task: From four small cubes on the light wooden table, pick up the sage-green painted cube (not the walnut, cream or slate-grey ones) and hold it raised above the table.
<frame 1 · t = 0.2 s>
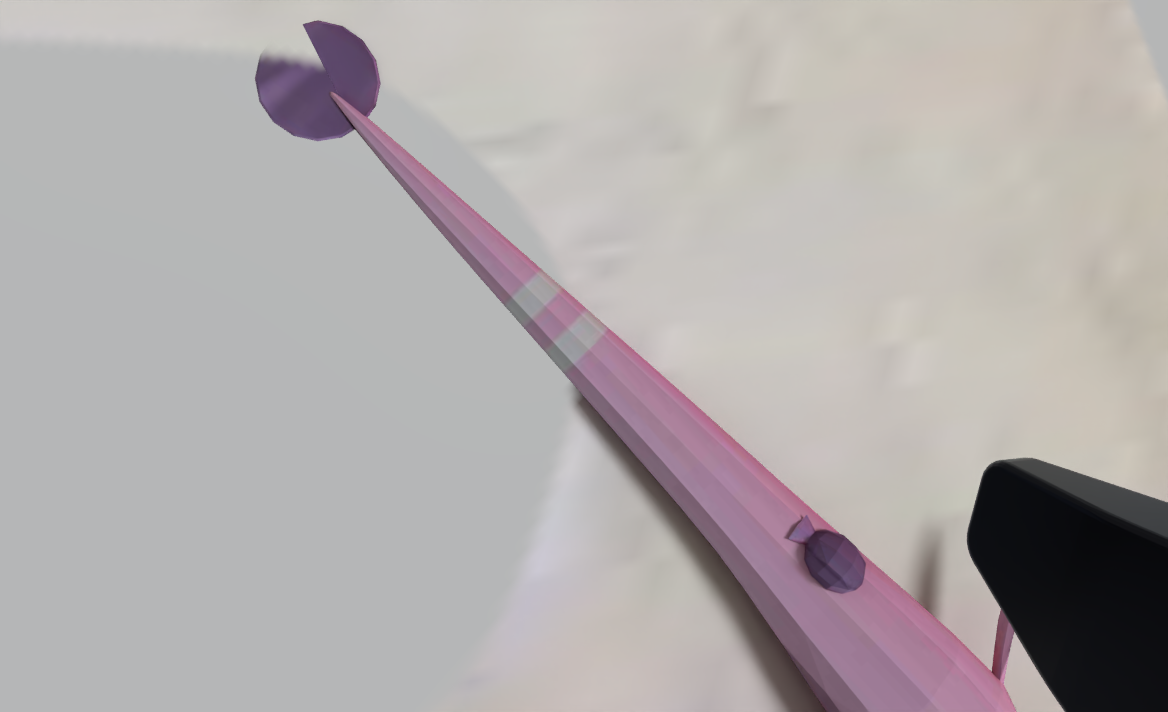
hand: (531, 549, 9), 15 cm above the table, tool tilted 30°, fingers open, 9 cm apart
toy: (679, 477, 25), on the table
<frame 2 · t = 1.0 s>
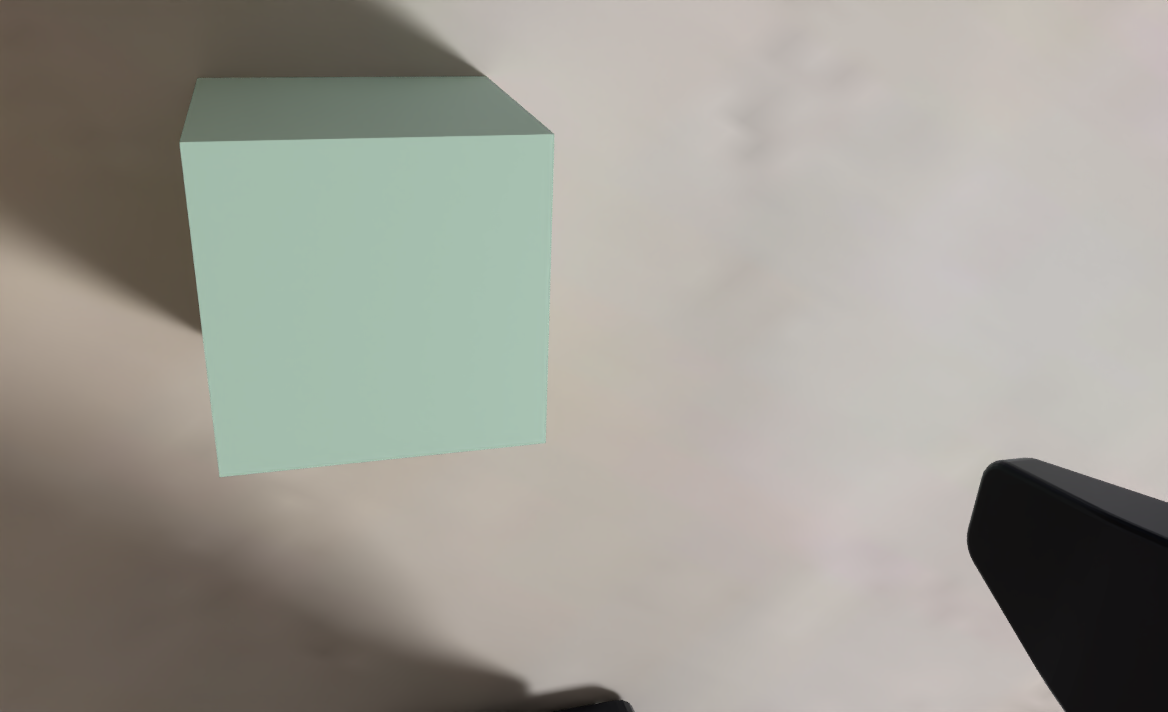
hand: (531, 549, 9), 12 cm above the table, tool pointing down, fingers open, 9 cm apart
sage block: (354, 212, 19), on the table
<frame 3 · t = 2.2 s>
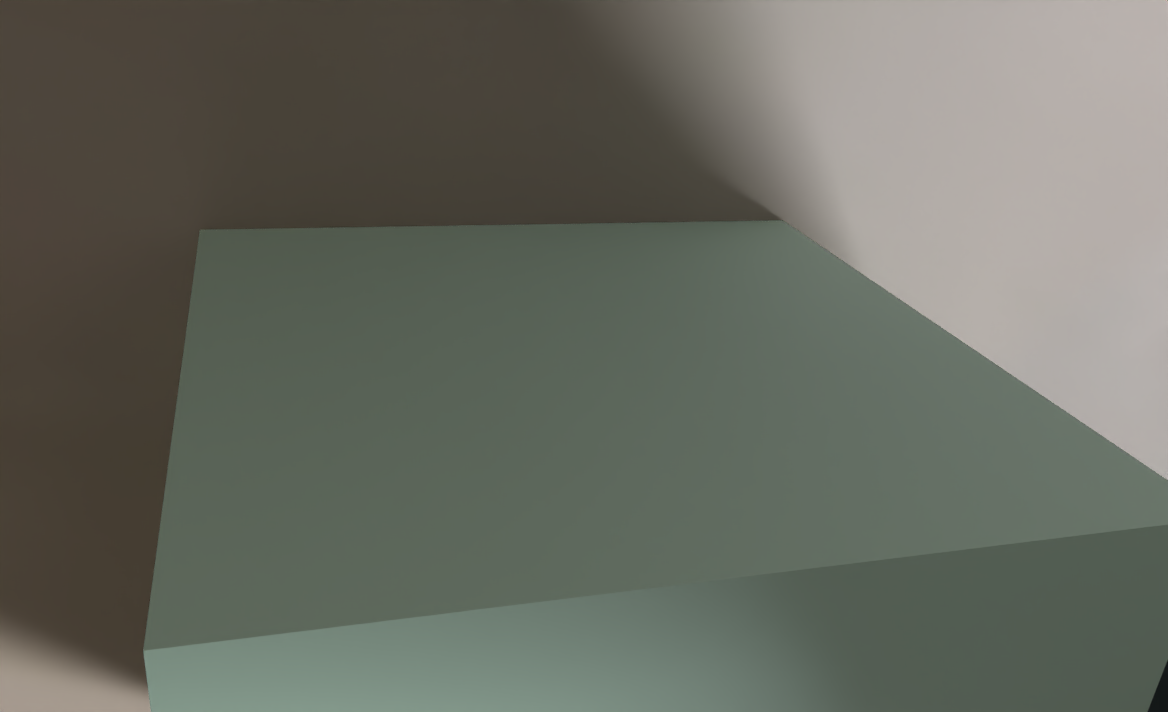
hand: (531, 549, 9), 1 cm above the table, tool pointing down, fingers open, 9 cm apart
sage block: (501, 475, 10), on the table
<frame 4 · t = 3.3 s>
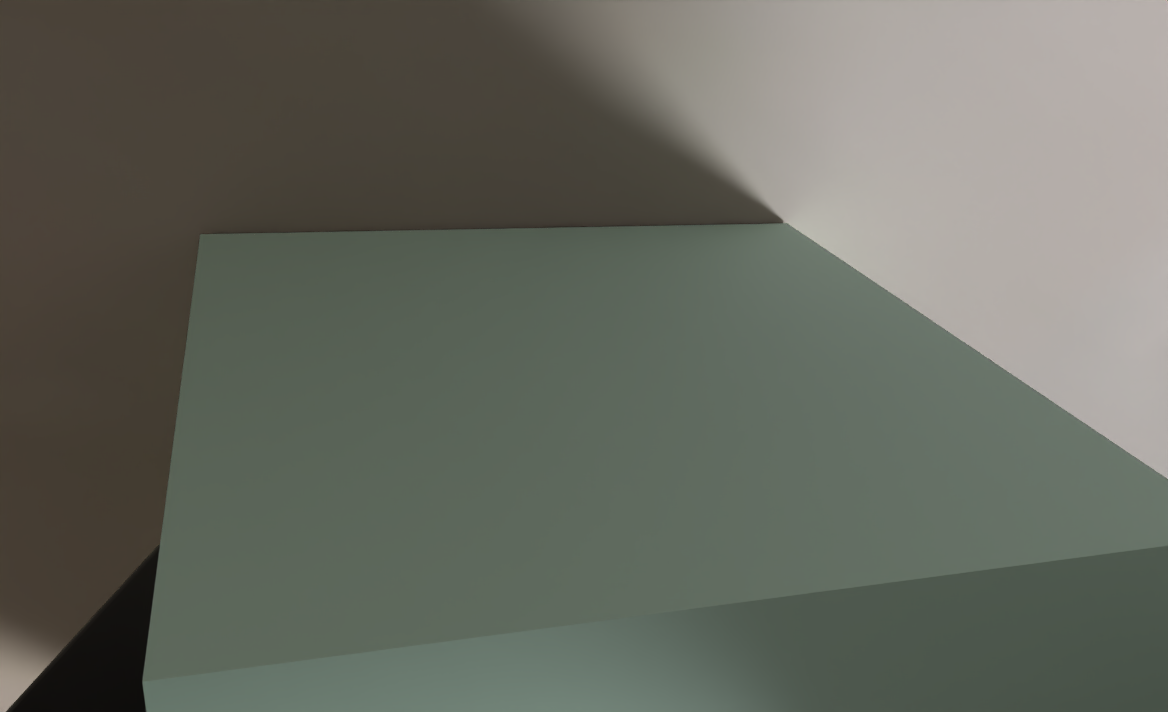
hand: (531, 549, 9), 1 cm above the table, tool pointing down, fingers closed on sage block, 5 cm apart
sage block: (505, 484, 10), on the table, touching gripper
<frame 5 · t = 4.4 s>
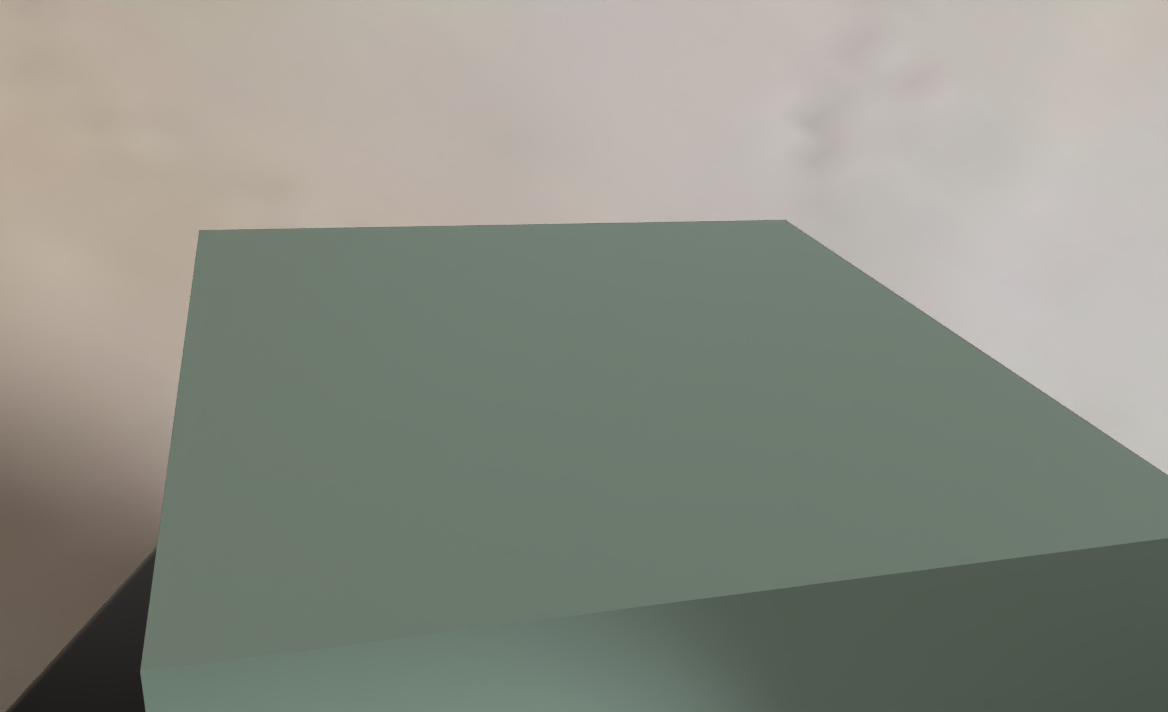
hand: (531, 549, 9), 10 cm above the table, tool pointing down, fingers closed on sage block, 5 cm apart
sage block: (504, 480, 10), point 9 cm above the table, touching gripper
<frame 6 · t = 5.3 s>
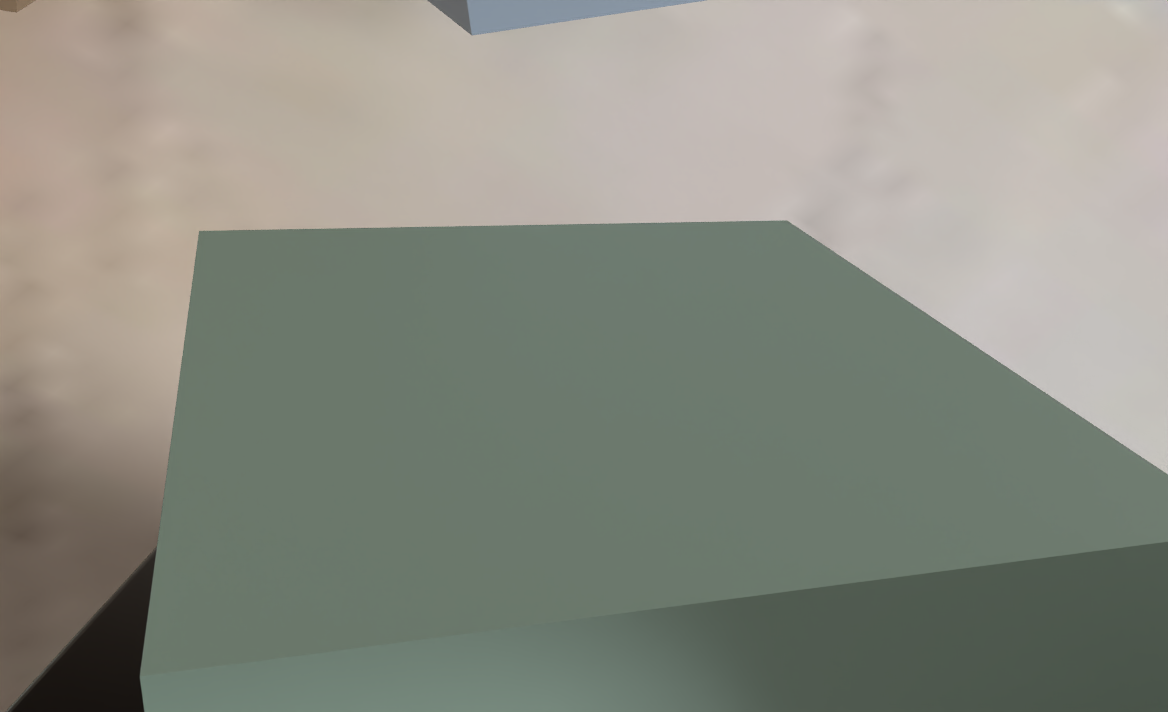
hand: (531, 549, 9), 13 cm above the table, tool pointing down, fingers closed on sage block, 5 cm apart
sage block: (505, 482, 10), point 12 cm above the table, touching gripper
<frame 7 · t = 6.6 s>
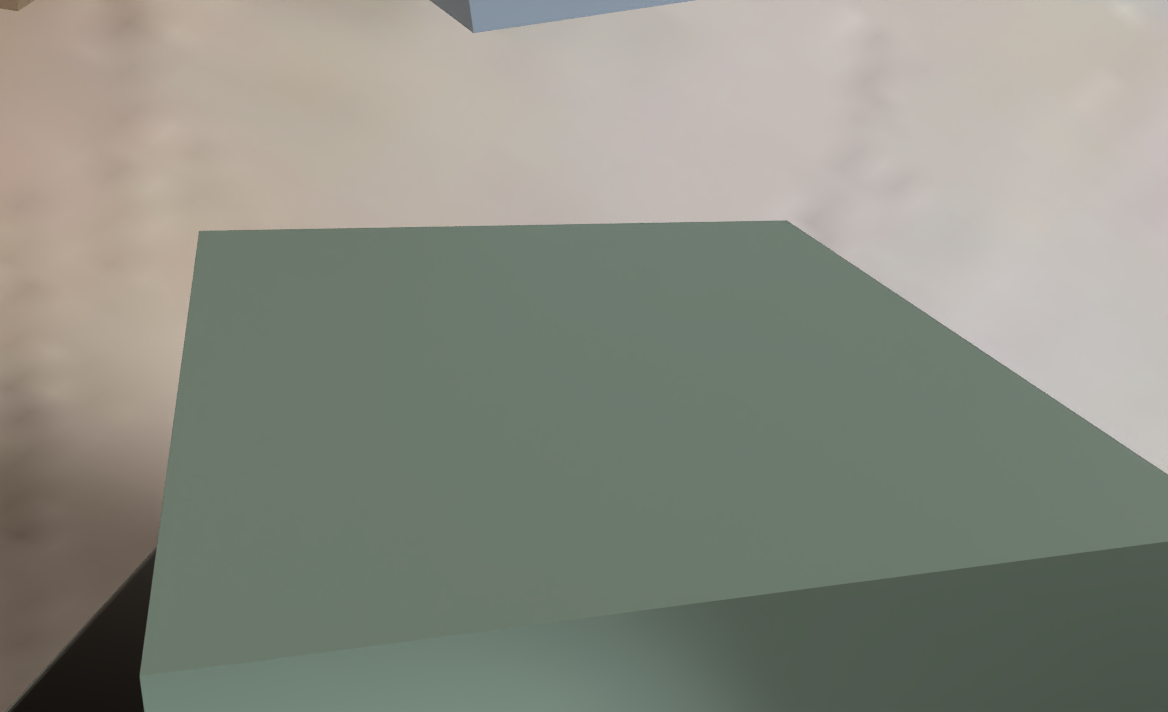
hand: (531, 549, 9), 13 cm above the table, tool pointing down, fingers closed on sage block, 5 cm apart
sage block: (505, 482, 10), point 12 cm above the table, touching gripper
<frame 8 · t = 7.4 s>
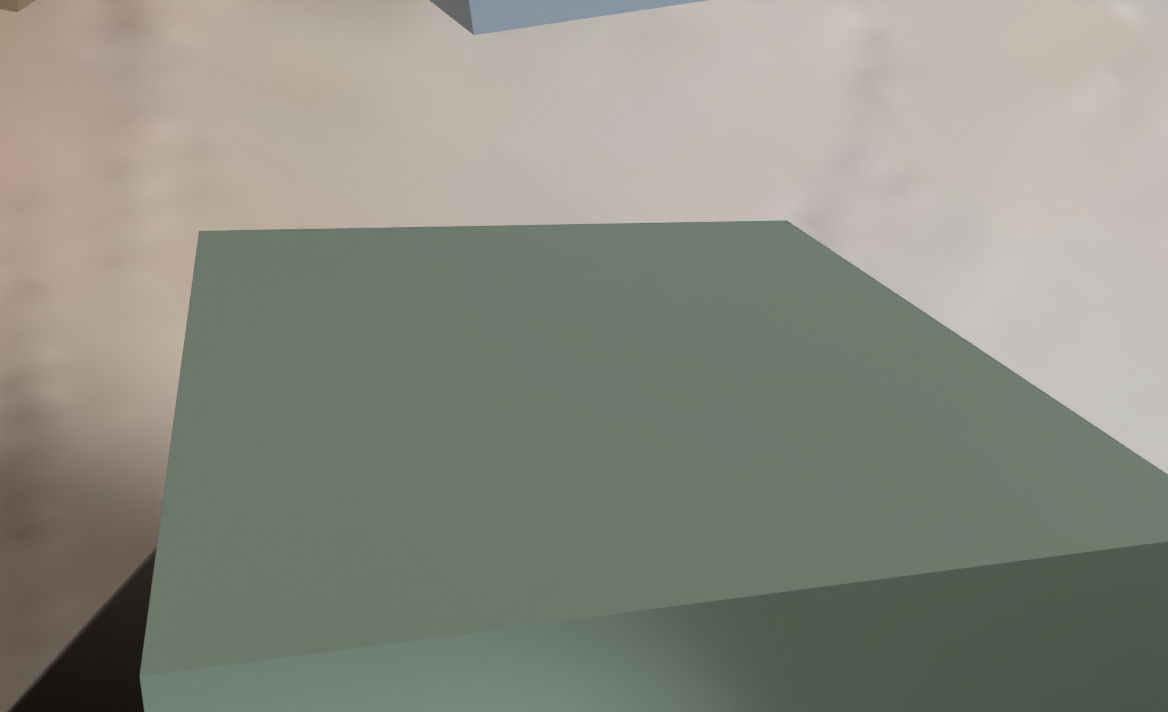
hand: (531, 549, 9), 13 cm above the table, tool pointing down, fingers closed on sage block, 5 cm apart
sage block: (505, 482, 10), point 12 cm above the table, touching gripper
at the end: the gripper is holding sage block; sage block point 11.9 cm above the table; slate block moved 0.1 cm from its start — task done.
